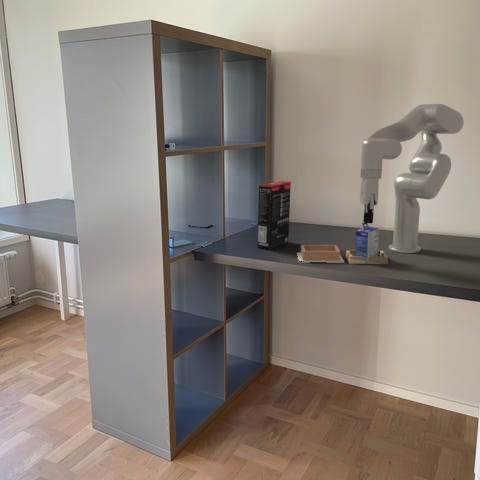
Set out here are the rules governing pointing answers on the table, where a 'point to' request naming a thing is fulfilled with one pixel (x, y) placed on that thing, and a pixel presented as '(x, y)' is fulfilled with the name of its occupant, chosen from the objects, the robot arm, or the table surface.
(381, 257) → the beige rectangular frame
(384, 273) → the table surface
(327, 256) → the tray
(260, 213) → the graphics card box
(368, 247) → the ink cartridge box
